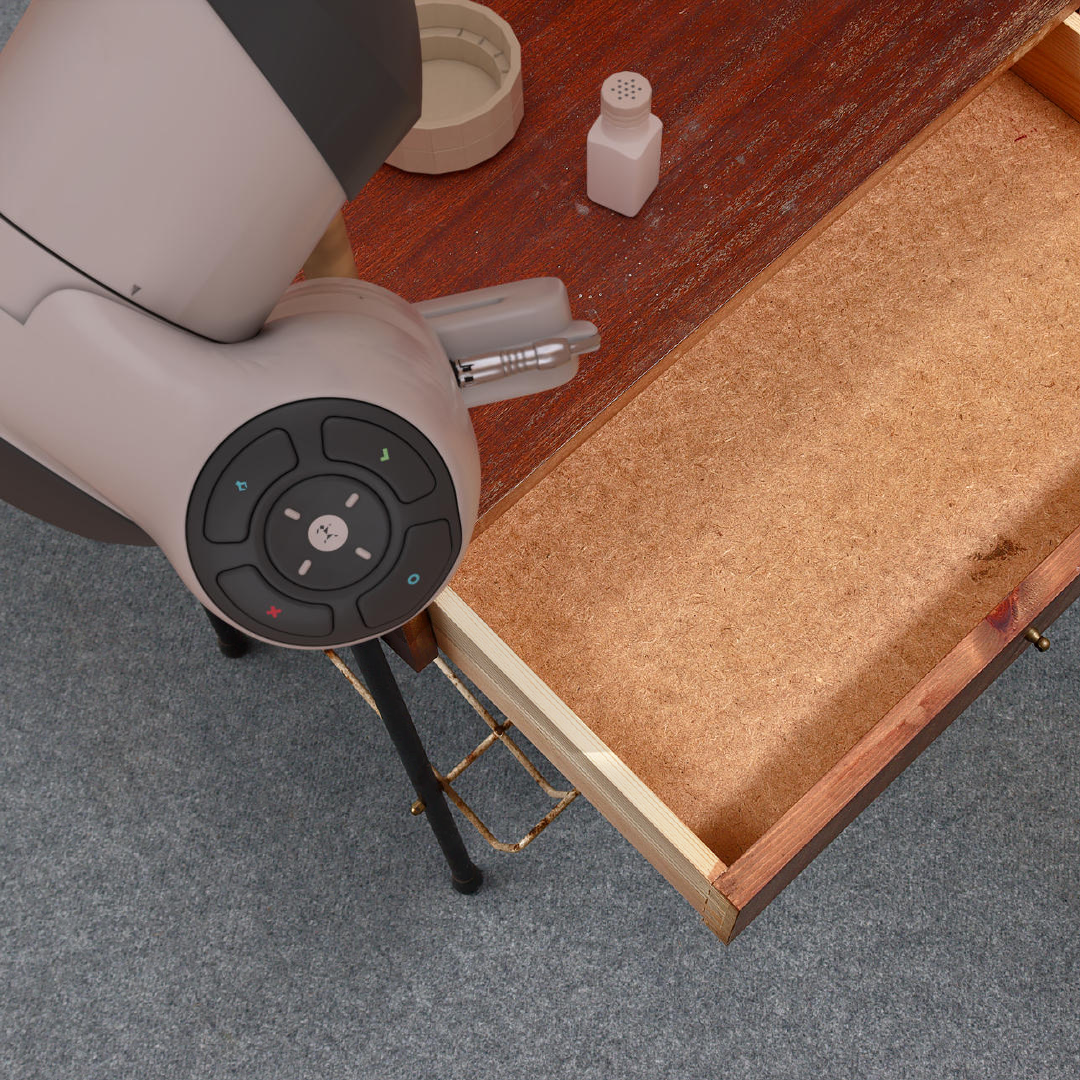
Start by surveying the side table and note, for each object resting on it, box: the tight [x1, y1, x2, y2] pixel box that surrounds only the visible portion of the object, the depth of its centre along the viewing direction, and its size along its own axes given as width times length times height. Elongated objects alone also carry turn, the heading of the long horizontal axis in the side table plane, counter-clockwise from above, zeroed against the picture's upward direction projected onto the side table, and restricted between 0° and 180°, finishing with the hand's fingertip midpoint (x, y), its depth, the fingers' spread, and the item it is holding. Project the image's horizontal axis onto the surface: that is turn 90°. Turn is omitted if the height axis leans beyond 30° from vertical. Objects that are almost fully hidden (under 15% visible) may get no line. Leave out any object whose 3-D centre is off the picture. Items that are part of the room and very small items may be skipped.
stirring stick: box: [301, 208, 361, 281], centre depth 68 cm, size 3×3×26 cm
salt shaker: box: [586, 70, 664, 218], centre depth 84 cm, size 4×4×10 cm
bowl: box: [384, 0, 525, 175], centre depth 90 cm, size 12×13×5 cm
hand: (342, 341), depth 60 cm, fingers open, 8 cm apart
